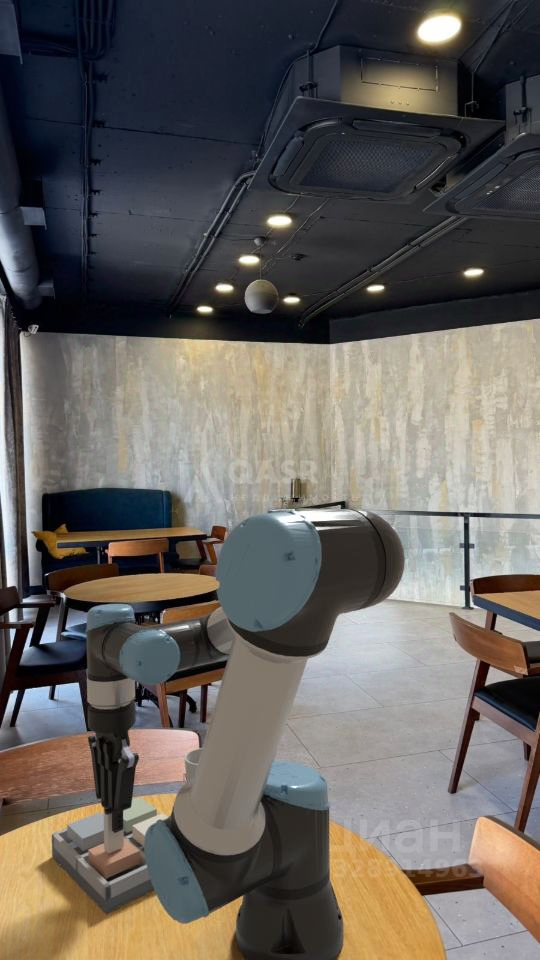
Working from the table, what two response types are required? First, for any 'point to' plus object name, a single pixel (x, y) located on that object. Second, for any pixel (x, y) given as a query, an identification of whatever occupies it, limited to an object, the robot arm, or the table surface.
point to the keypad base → (98, 888)
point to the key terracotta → (113, 859)
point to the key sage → (137, 813)
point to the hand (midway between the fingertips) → (114, 848)
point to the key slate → (87, 831)
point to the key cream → (145, 827)
